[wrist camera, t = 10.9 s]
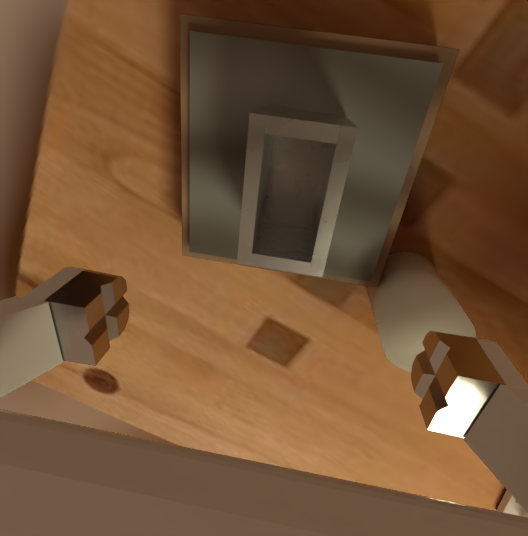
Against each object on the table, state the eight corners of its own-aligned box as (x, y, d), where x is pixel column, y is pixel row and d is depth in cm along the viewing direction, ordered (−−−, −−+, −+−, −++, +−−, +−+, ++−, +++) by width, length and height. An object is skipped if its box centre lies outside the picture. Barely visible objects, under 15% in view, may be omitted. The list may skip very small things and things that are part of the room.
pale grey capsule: (422, 313, 31) (454, 379, 24) (358, 302, 31) (372, 365, 24) (447, 257, 28) (492, 315, 21) (376, 246, 28) (397, 299, 21)
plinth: (370, 266, 29) (378, 291, 26) (194, 238, 30) (179, 258, 27) (439, 53, 21) (464, 48, 18) (197, 23, 22) (176, 12, 19)
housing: (346, 116, 20) (358, 127, 15) (319, 235, 24) (322, 277, 19) (265, 105, 20) (249, 112, 15) (252, 224, 24) (236, 263, 19)
